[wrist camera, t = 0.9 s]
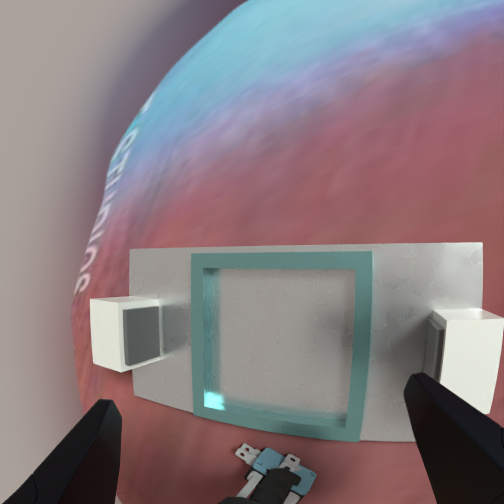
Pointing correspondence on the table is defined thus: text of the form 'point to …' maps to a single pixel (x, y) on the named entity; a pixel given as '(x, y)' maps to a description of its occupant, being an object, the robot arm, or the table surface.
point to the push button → (272, 478)
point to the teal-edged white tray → (299, 331)
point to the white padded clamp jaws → (435, 363)
